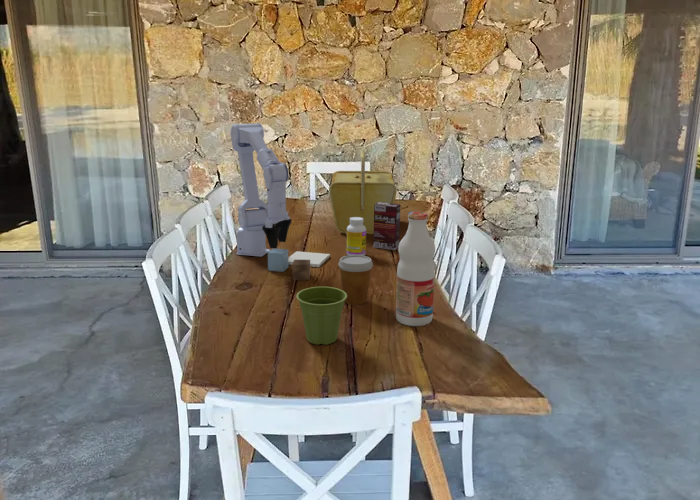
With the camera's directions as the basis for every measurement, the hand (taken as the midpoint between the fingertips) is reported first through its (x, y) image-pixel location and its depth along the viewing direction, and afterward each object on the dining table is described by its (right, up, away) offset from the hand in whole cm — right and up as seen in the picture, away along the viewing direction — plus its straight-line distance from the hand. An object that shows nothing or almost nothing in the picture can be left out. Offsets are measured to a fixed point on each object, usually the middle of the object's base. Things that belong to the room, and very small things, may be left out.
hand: (277, 244), depth 199 cm
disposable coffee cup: (+24, -16, -25) cm, 38 cm away
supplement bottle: (+25, -4, +18) cm, 31 cm away
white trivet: (+9, -5, +11) cm, 15 cm away
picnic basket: (+28, +8, +57) cm, 64 cm away
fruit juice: (+39, -20, -38) cm, 58 cm away
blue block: (0, -8, +2) cm, 8 cm away
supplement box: (+36, -1, +27) cm, 45 cm away
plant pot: (+16, -23, -50) cm, 57 cm away
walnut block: (+8, -10, -6) cm, 14 cm away
